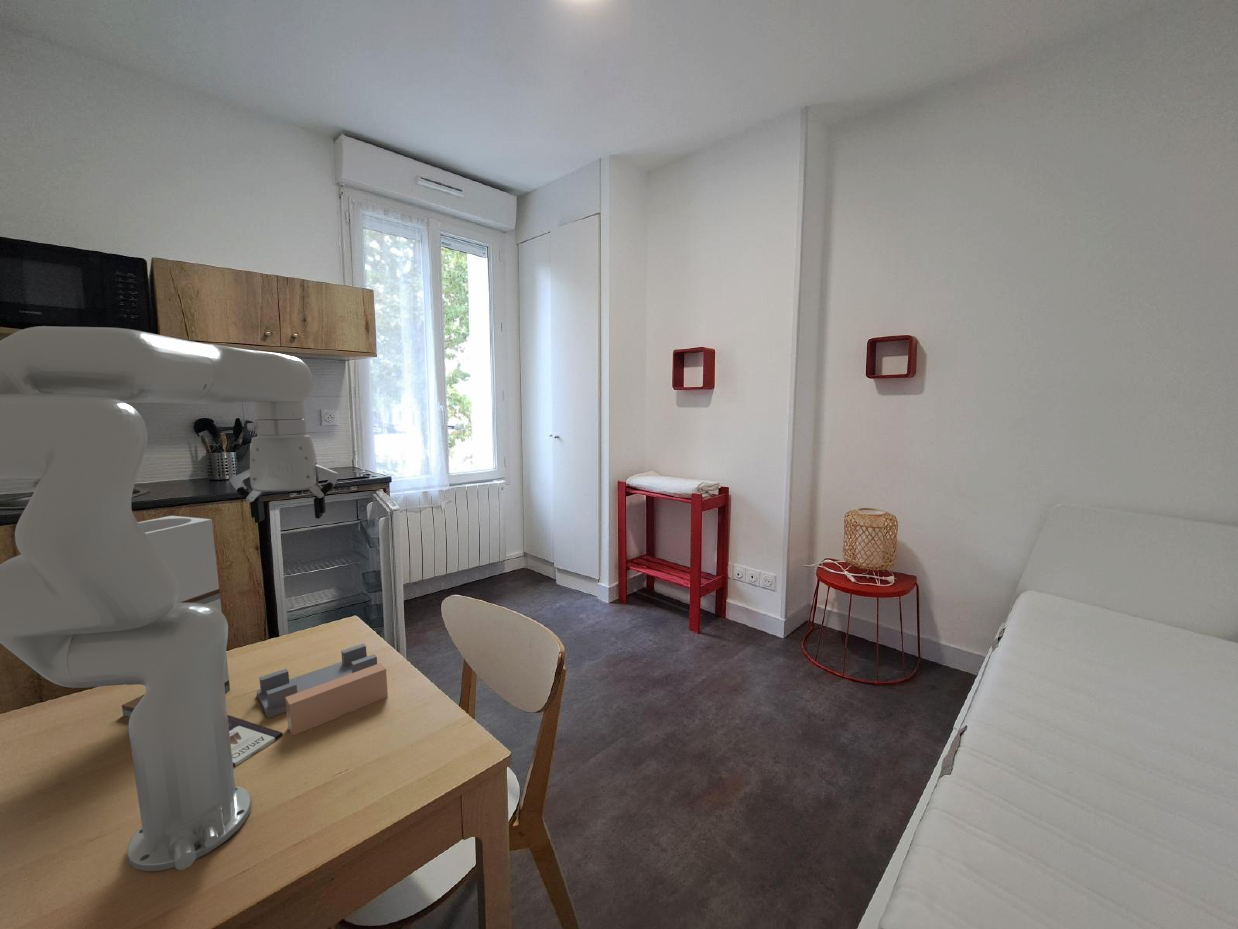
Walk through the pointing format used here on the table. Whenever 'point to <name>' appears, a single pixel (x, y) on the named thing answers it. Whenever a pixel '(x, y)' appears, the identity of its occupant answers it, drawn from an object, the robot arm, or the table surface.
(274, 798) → the table surface
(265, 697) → the grey slotted stand
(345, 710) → the clay bar
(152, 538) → the white open storage bin
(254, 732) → the chocolate bar
